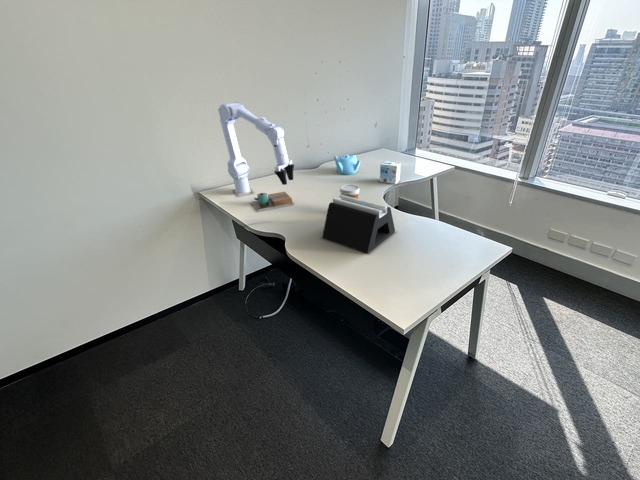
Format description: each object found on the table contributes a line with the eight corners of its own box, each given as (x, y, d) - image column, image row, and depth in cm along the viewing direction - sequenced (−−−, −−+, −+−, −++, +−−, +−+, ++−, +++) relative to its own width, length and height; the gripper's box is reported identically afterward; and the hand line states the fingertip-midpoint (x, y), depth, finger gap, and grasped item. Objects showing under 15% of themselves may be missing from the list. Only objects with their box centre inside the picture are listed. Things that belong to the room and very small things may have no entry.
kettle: (267, 201, 168) (265, 191, 165) (269, 204, 164) (268, 194, 161) (254, 203, 165) (252, 193, 162) (256, 206, 162) (254, 196, 159)
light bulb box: (379, 181, 197) (380, 163, 191) (383, 178, 202) (383, 160, 196) (396, 184, 194) (397, 166, 188) (399, 181, 199) (400, 163, 193)
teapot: (361, 175, 207) (361, 157, 201) (337, 176, 204) (337, 158, 198) (356, 167, 219) (356, 151, 213) (334, 168, 216) (333, 152, 210)
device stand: (367, 253, 128) (368, 218, 120) (322, 238, 138) (320, 205, 129) (394, 231, 144) (397, 199, 135) (352, 219, 154) (352, 188, 145)
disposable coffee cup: (362, 209, 164) (362, 185, 157) (355, 216, 156) (355, 192, 149) (344, 206, 166) (344, 183, 159) (337, 213, 159) (336, 189, 152)
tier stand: (251, 203, 167) (250, 197, 165) (285, 197, 175) (284, 191, 173) (257, 211, 159) (255, 205, 157) (292, 204, 167) (291, 198, 165)
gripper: (281, 157, 150) (289, 186, 157) (294, 150, 162) (301, 177, 169) (268, 158, 152) (276, 186, 159) (281, 151, 163) (288, 178, 170)
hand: (288, 182), depth 164 cm, fingers open, 7 cm apart
